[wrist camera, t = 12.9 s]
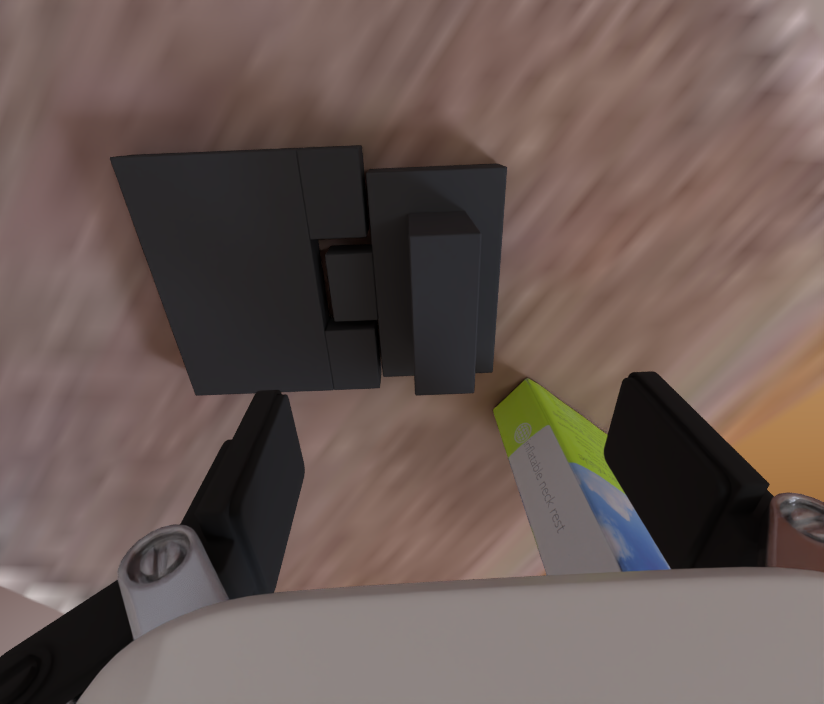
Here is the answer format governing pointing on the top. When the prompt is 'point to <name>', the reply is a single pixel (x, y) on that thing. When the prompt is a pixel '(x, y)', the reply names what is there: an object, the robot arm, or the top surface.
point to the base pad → (253, 263)
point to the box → (571, 488)
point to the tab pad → (387, 254)
